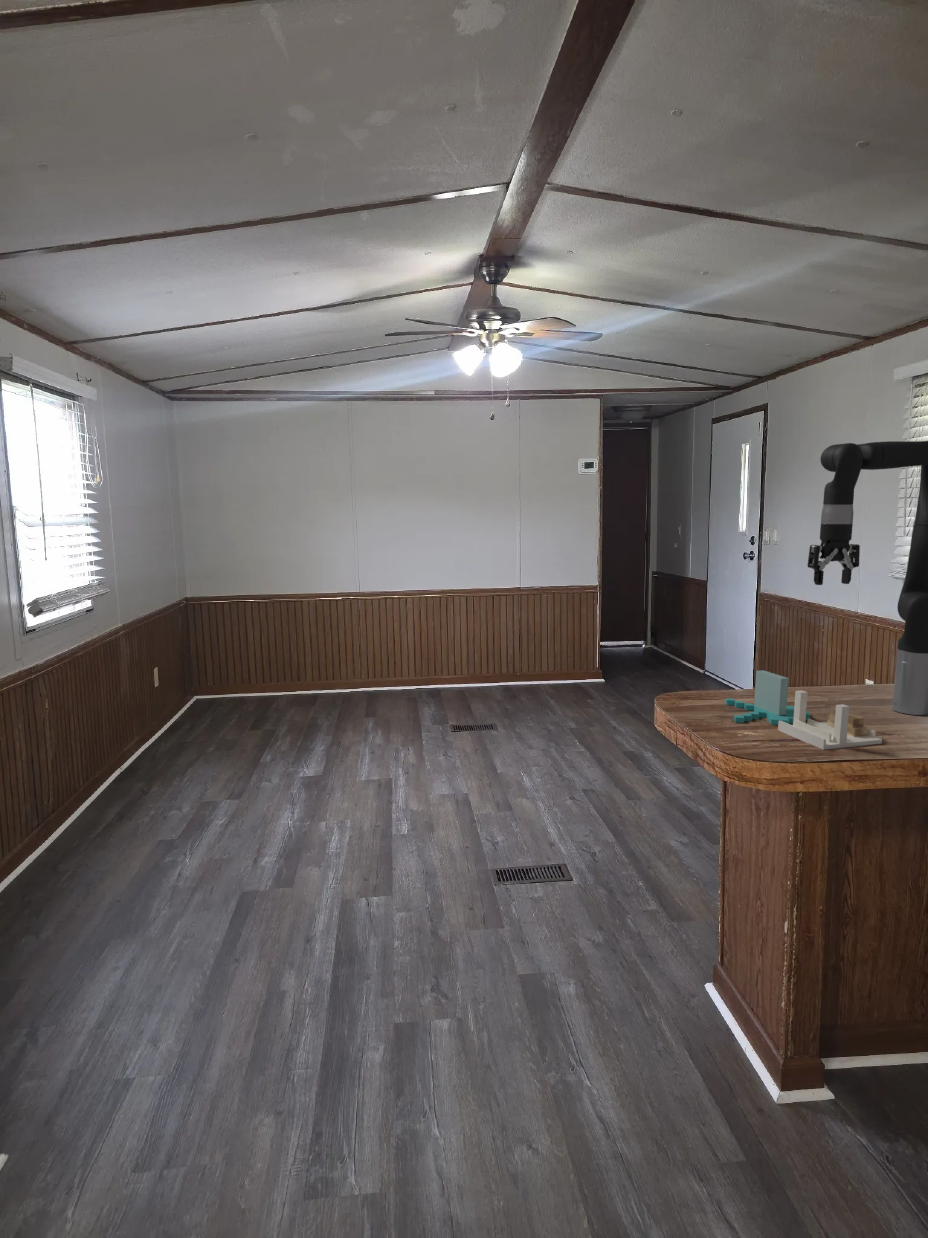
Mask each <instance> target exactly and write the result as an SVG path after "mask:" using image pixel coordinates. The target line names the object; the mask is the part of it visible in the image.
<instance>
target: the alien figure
mask: <svg viewBox="0 0 928 1238" xmlns="http://www.w3.org/2000/svg"><path fill="white" fill-rule="evenodd" d="M725 705H726V706H734V707H735V708H736V709H737V708H739V709H744V710H745V711H749V712H748V713H741V715H737V714H736V715H735V714H734V715H733V716H734V718H733V721H734V723H735V724H737V723H739V724H745V721H746V722H752V720H760V718H766V720H767V721H768V722H769V724H770V725H771V726H772V725H774V726H778V723H779V721H783V722H785V723H788V724H791V725H793V720H794V705H787V709H786V715H776V714H773V713H771V712H768V711H766V710H763V709H761V708H758V707H755V706H754V703H747V702H746V703H745V702H744V700H735V698H727V697H726V698H725ZM811 716H812V715H811V714H810V713H809V711H808V710H807V709H806V720H807V721H808V719H812V718H811Z"/></svg>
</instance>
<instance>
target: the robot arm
mask: <svg viewBox="0 0 928 1238" xmlns="http://www.w3.org/2000/svg"><path fill="white" fill-rule="evenodd" d="M819 461H820V464H821V466H822V468H824V469H825V470H826V471H828V472H830V473H831V472H832V473H834V475H833V479H832V480H831V481H829V482H827V483H826V484H825V485H824V491H823V504H822V509H821V515H820V516H821V517H820V527H819V528H820V530H819V540H820V541H821V542H820V544H819V545H818V544H810V545H809V548H808V549H809V550H808V551H809V552H808V556H807V557H808V559H807V568H810V569H813V571H814V572H813V582H814V585H817V586H823V584H824V572H825V571H824V569H825V567H827V565H829V564H830V563H831V562H838V563H839V564H840V565H841V567H842V570H841V581H840V582H841V584H843V585H850V582H852V581H851V580H852V572H853V569H855V568H858V567H859V566H860V550H861V549H860V547H861V546H860V544H855V543H850V541H852V536H853V525H854V524H853V522H854V498H855V497H854V496H855V488H856V485H857V482H858V480H859V477H860V473H861V471H862V470H868V471H875V470H890V469H900V468H908V467H909V468H910V467H920V480H919V491H918V499H917V504H916V511H915V512H916V513H915V517H914V522H913V526H912V533H911V537H910V538H911V539H910V547H909V552H908V559H907V560H908V561H907V567H906V572H905V578H904V580H903V584H902V588H901V591H900V593H899V596H898V601H897V607H896V608H897V612H898V615H899V617H900V618H901V619H902V621H904V630H903V635H902V636H901V637H900V638H899V639H898V641H897V651H896V662H895V671H894V672H895V673H894V682H893V694H892V705H891V709H892V710H893V711H895V712H897V713H901V714H906V715H914V716H926V715H928V440H919V441H918V440H917V441H912V440H911V441H910V440H909V441H908V440H907V441H906V440H905V441H903V440H902V441H900V440H899V441H895V440H893V441H892V440H891V441H873V442H867V443H859V444H858V443H857V444H856V443H854V442H847V443H838V444H832V445H829V446H828V447H826V448H825V449H824V450H823V451H822V452H821V455H820V460H819Z"/></svg>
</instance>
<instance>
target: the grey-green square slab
mask: <svg viewBox="0 0 928 1238" xmlns="http://www.w3.org/2000/svg"><path fill="white" fill-rule="evenodd" d="M789 680H790V679H789V677H785V676H783V675H780V674H777V673H772V672H770V671H767V670H763V669H762V670H756V671H755V684H754V685H755V686H754V701H753V705H754V706H755V707H758V708H761V709H763V710H766V711H768V712H771V713H773V714H776V715H786V709H787V706H788V694H789Z"/></svg>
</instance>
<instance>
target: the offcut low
mask: <svg viewBox="0 0 928 1238" xmlns="http://www.w3.org/2000/svg"><path fill="white" fill-rule="evenodd" d="M829 719H830V718H828V719H827V722H828V724H827V726H830V727H832V728H834V724H835V721H832V720H829ZM868 728H869V727H867V726H864V725H863V726H858V727H850V726H848V728H847V734H848V735H850V736H853V737H859V736H868Z"/></svg>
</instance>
